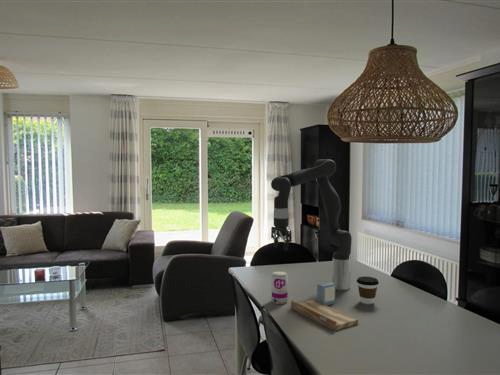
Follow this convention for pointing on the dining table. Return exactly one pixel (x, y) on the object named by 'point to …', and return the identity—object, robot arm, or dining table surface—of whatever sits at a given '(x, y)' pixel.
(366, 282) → the coffee cup
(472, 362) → the dining table surface
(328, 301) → the carton
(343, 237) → the robot arm
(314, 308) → the wooden plank
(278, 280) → the supplement can
